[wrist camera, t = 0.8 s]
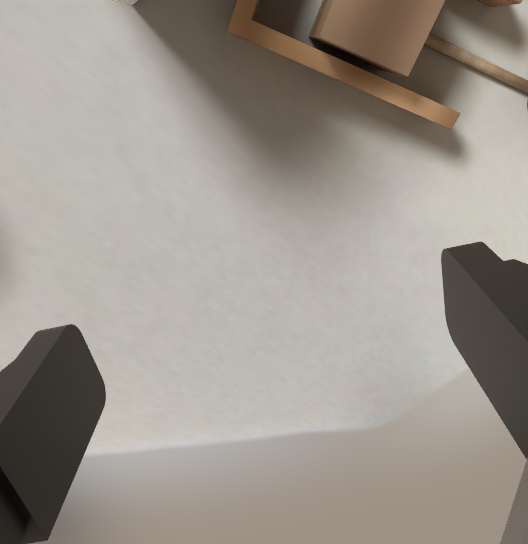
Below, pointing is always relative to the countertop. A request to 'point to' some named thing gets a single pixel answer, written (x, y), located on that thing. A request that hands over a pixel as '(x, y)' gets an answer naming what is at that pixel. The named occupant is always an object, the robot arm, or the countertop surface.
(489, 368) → the robot arm
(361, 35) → the tethered walnut block
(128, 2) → the milk carton
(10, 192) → the countertop surface
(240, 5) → the frame
